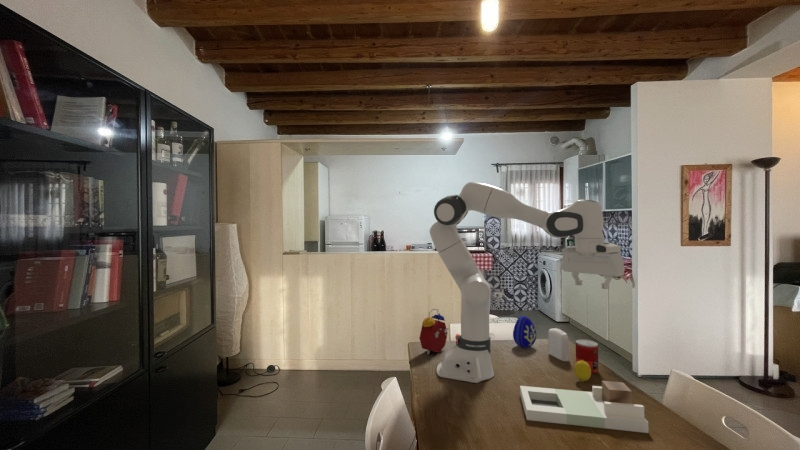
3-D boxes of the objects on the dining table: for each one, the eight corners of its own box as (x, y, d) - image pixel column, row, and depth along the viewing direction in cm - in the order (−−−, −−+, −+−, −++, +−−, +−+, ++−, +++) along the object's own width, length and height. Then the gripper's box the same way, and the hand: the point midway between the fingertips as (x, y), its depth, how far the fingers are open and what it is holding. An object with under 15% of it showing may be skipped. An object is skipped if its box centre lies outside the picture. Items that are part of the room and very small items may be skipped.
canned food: (598, 375, 131) (597, 347, 132) (575, 371, 136) (574, 343, 136) (598, 368, 138) (598, 341, 138) (576, 364, 142) (576, 338, 142)
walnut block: (609, 409, 101) (609, 389, 101) (602, 399, 107) (601, 380, 107) (632, 411, 100) (631, 391, 100) (623, 401, 105) (623, 382, 105)
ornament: (523, 352, 157) (523, 319, 157) (508, 346, 165) (508, 315, 165) (539, 347, 162) (539, 316, 163) (524, 342, 170) (524, 312, 171)
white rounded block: (546, 353, 155) (546, 326, 155) (555, 352, 156) (554, 325, 156) (562, 362, 145) (561, 333, 145) (571, 361, 146) (570, 332, 146)
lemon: (593, 385, 123) (593, 363, 123) (576, 384, 124) (576, 362, 124) (588, 379, 128) (587, 357, 128) (572, 377, 129) (572, 356, 130)
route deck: (526, 419, 101) (526, 399, 101) (520, 394, 117) (519, 376, 117) (648, 433, 94) (648, 411, 94) (623, 404, 110) (623, 385, 110)
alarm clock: (436, 345, 167) (436, 304, 167) (452, 349, 161) (451, 307, 161) (419, 354, 155) (418, 310, 155) (435, 358, 150) (434, 313, 150)
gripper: (557, 246, 124) (558, 284, 124) (614, 247, 106) (616, 292, 106) (568, 245, 127) (569, 282, 127) (625, 246, 109) (627, 289, 109)
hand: (591, 286), depth 116 cm, fingers open, 8 cm apart
